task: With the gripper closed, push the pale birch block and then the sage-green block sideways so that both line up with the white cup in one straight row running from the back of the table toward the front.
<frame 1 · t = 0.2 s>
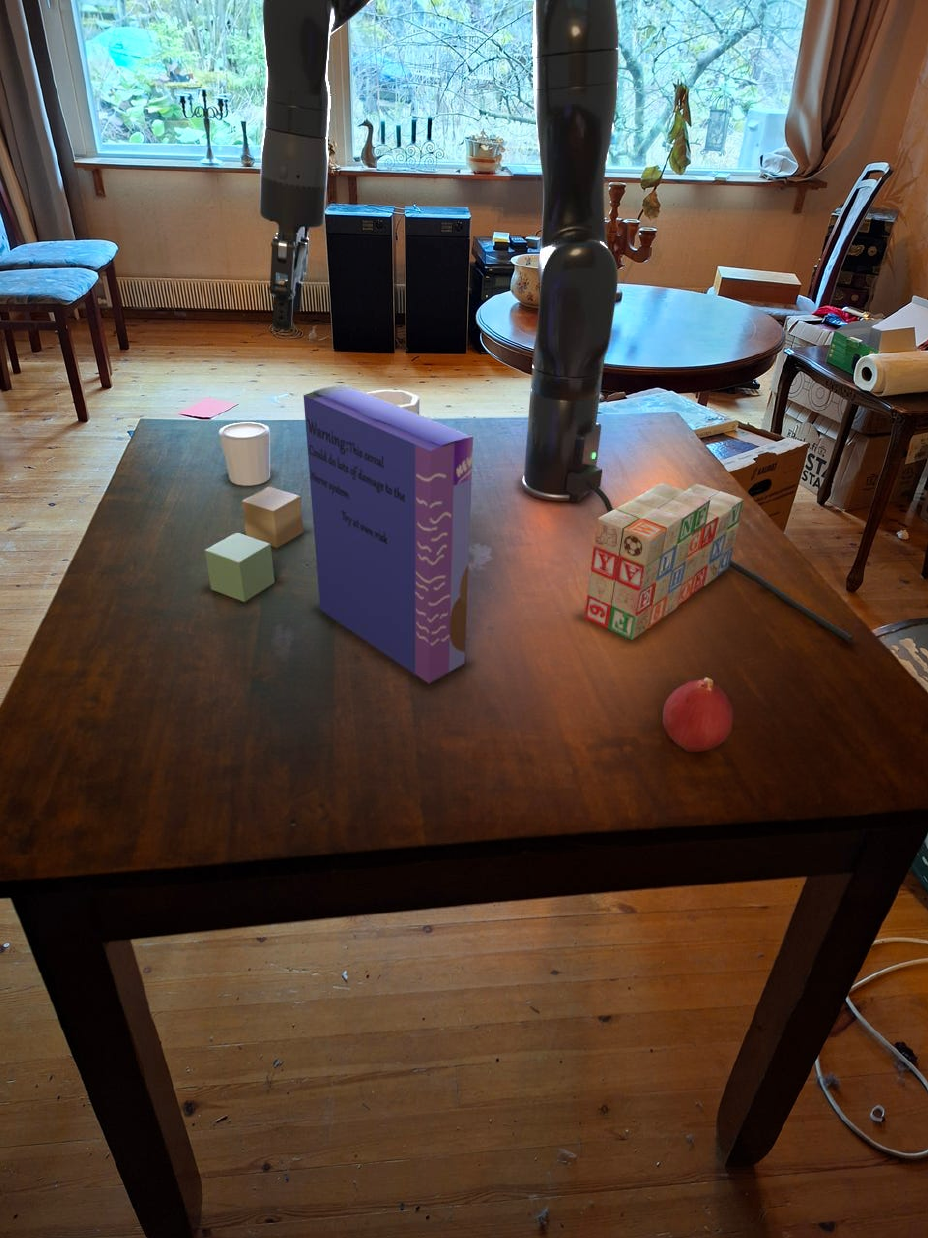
hand: (287, 319, 105), 22 cm above the table, tool pointing down, fingers open, 8 cm apart
mug: (393, 469, 122), on the table
onion: (689, 750, 73), on the table
birch block: (275, 534, 104), on the table
cereal box: (389, 638, 86), on the table
sage block: (243, 585, 94), on the table
stack of blocks: (659, 594, 95), on the table
white cup: (250, 478, 118), on the table
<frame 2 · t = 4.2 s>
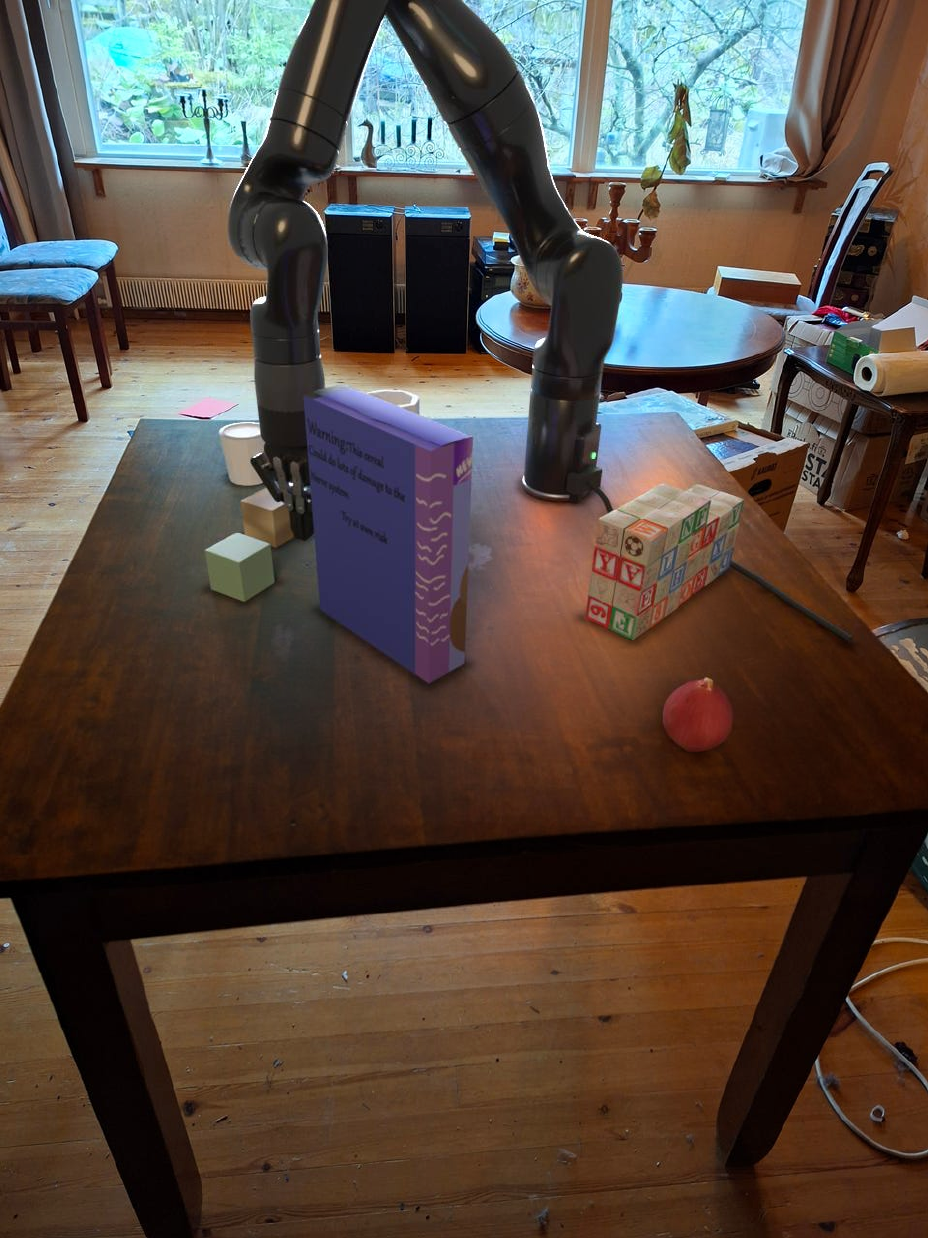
hand: (303, 536, 101), 1 cm above the table, tool pointing down, fingers closed
birch block: (273, 534, 104), on the table, touching gripper
everything else where it was.
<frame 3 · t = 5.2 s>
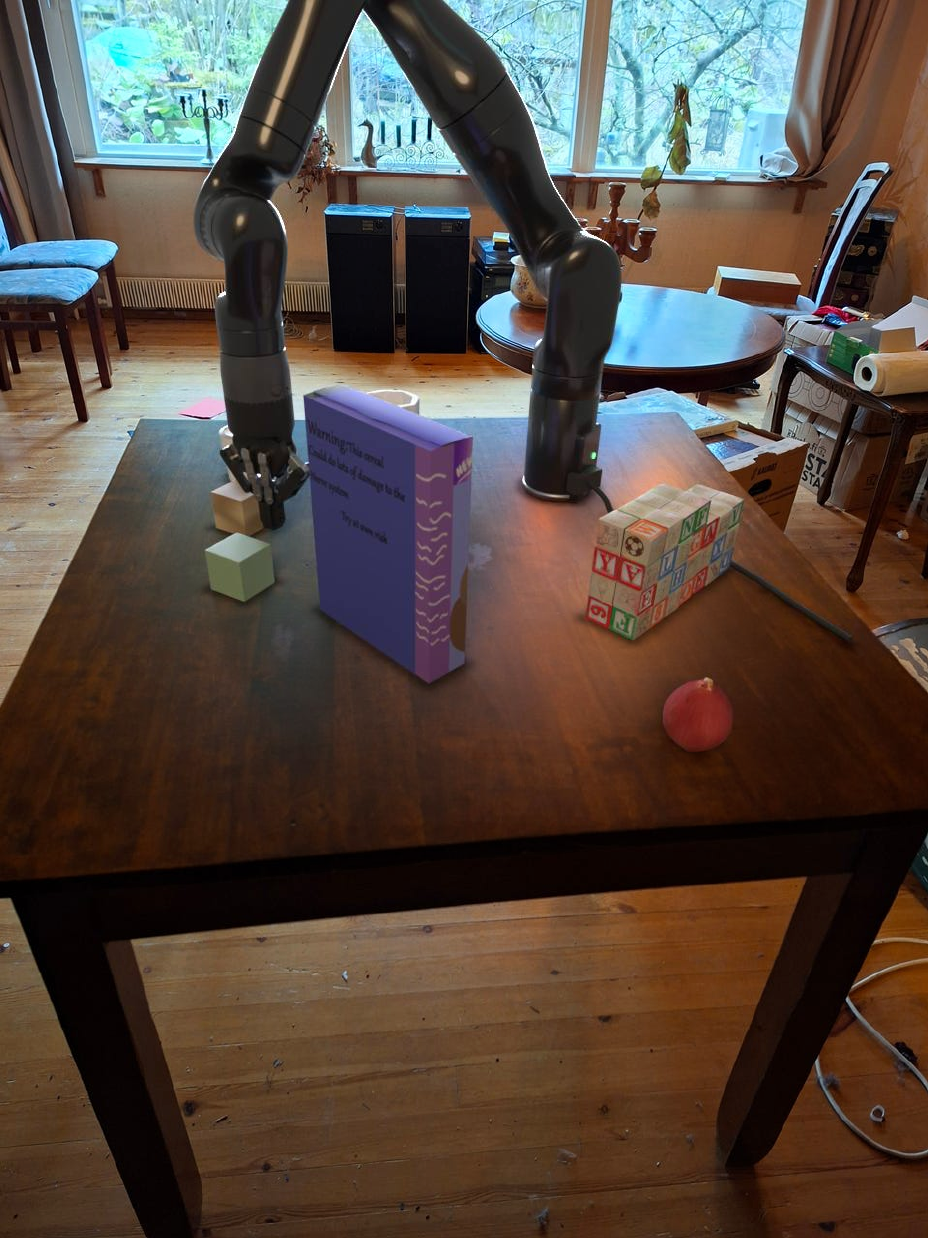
hand: (273, 526, 103), 1 cm above the table, tool pointing down, fingers closed
birch block: (244, 525, 106), on the table, touching gripper
everything else where it was.
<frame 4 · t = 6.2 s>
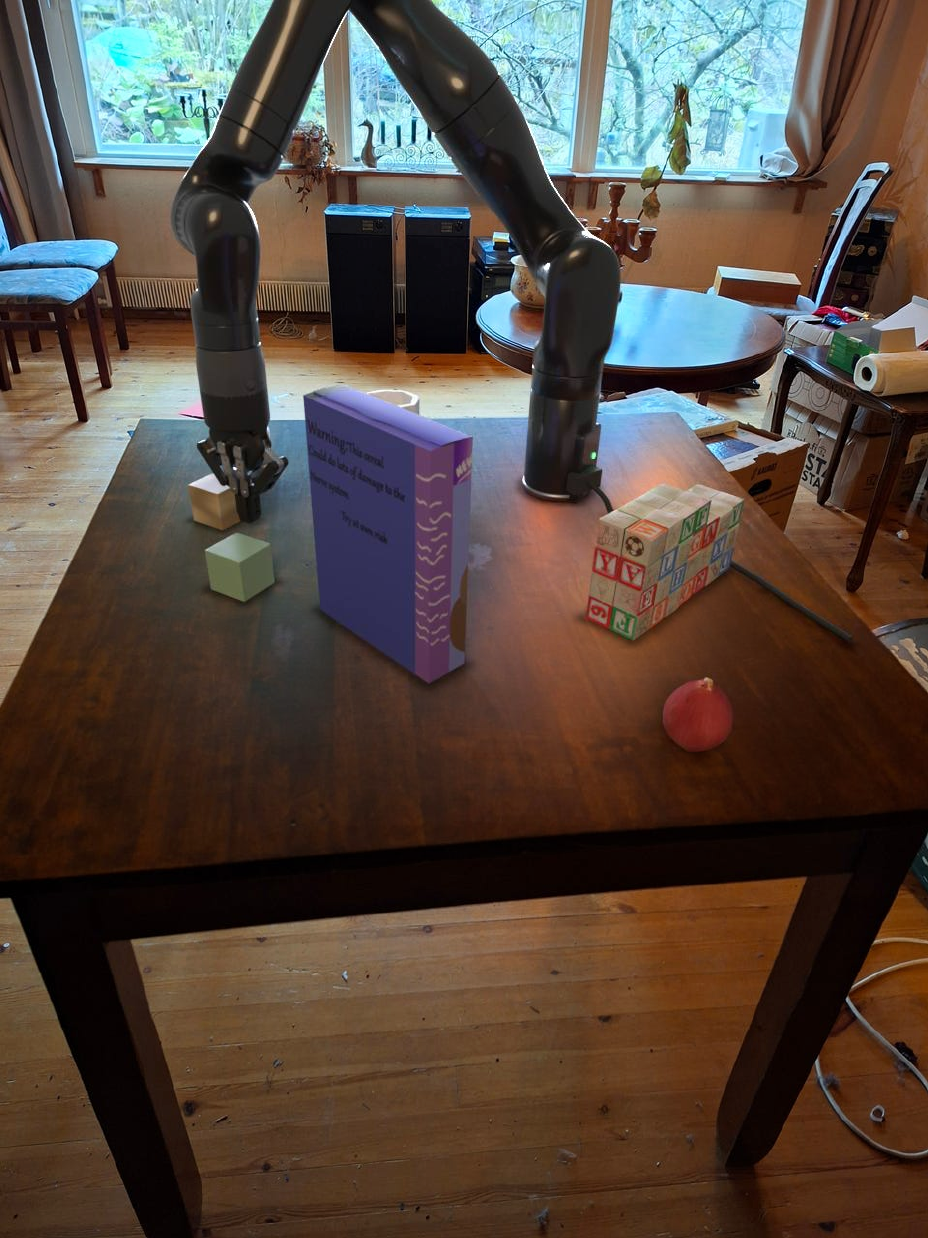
hand: (249, 519, 104), 1 cm above the table, tool pointing down, fingers closed
birch block: (222, 518, 107), on the table, touching gripper
everything else where it was.
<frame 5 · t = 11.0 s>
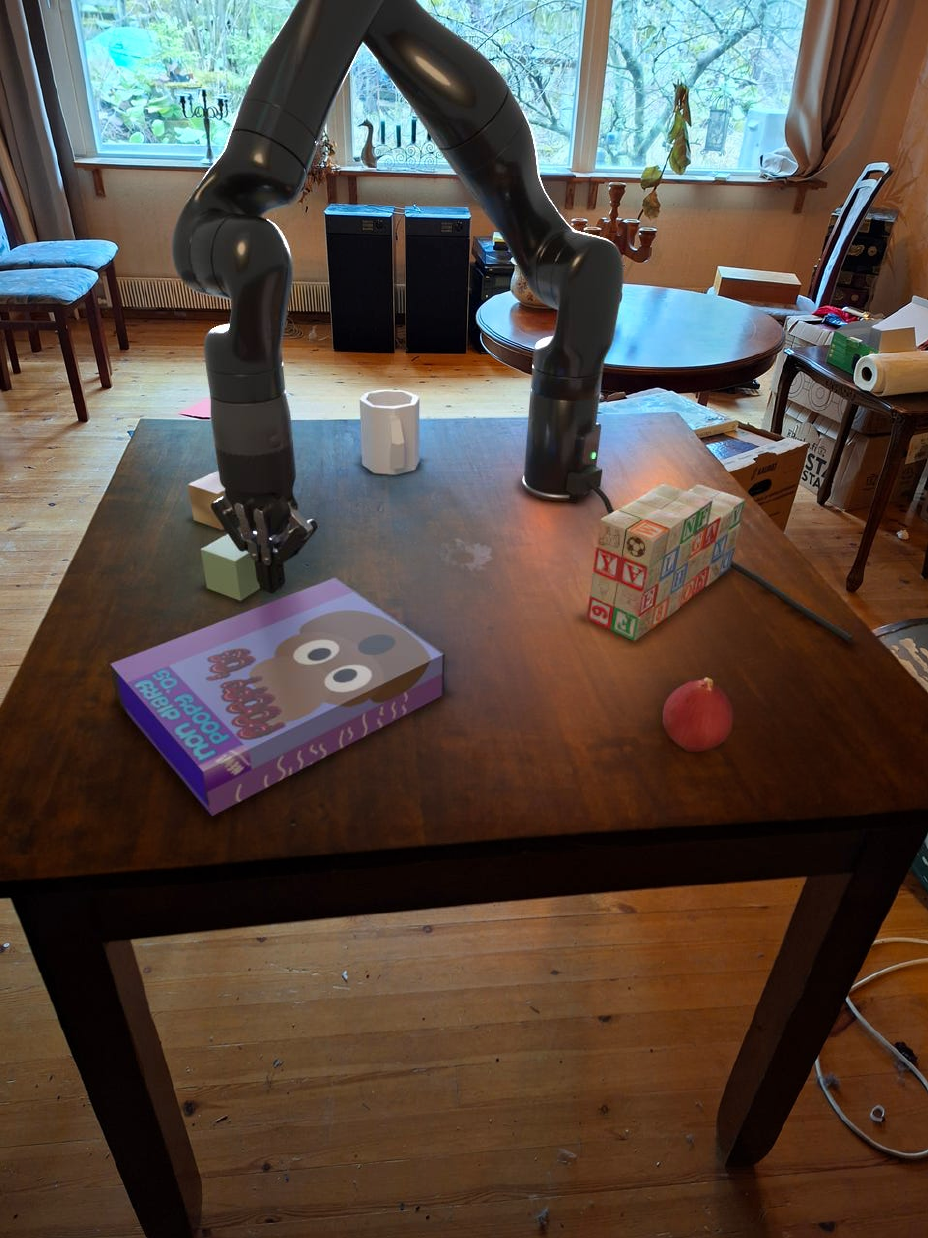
hand: (271, 588, 91), 1 cm above the table, tool pointing down, fingers closed
birch block: (222, 517, 107), on the table
cereal box: (388, 632, 83), point 2 cm above the table
sage block: (239, 584, 94), on the table, touching gripper
everything else where it was.
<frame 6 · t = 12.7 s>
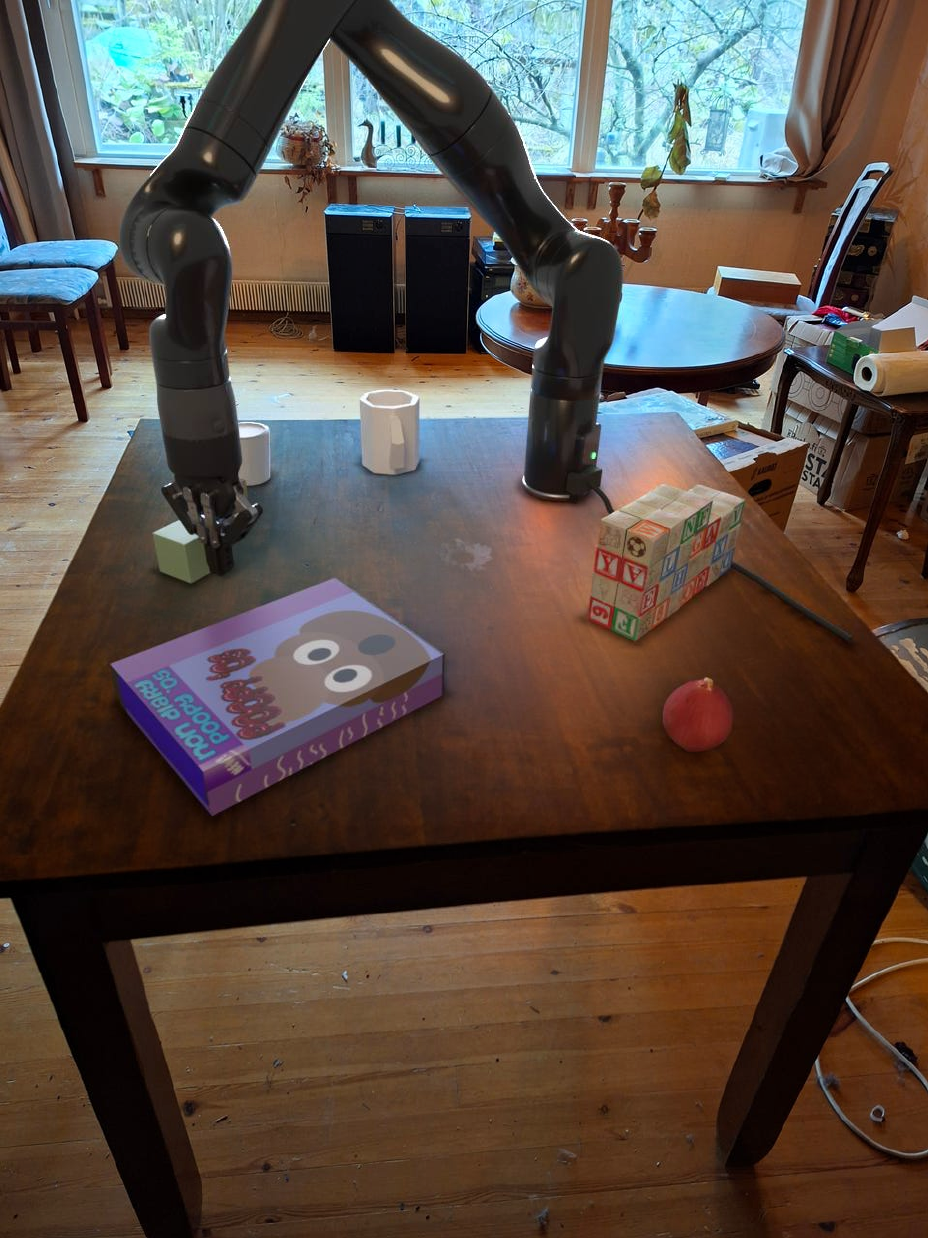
hand: (221, 571, 94), 1 cm above the table, tool pointing down, fingers closed
sage block: (191, 568, 96), on the table, touching gripper
everything else where it was.
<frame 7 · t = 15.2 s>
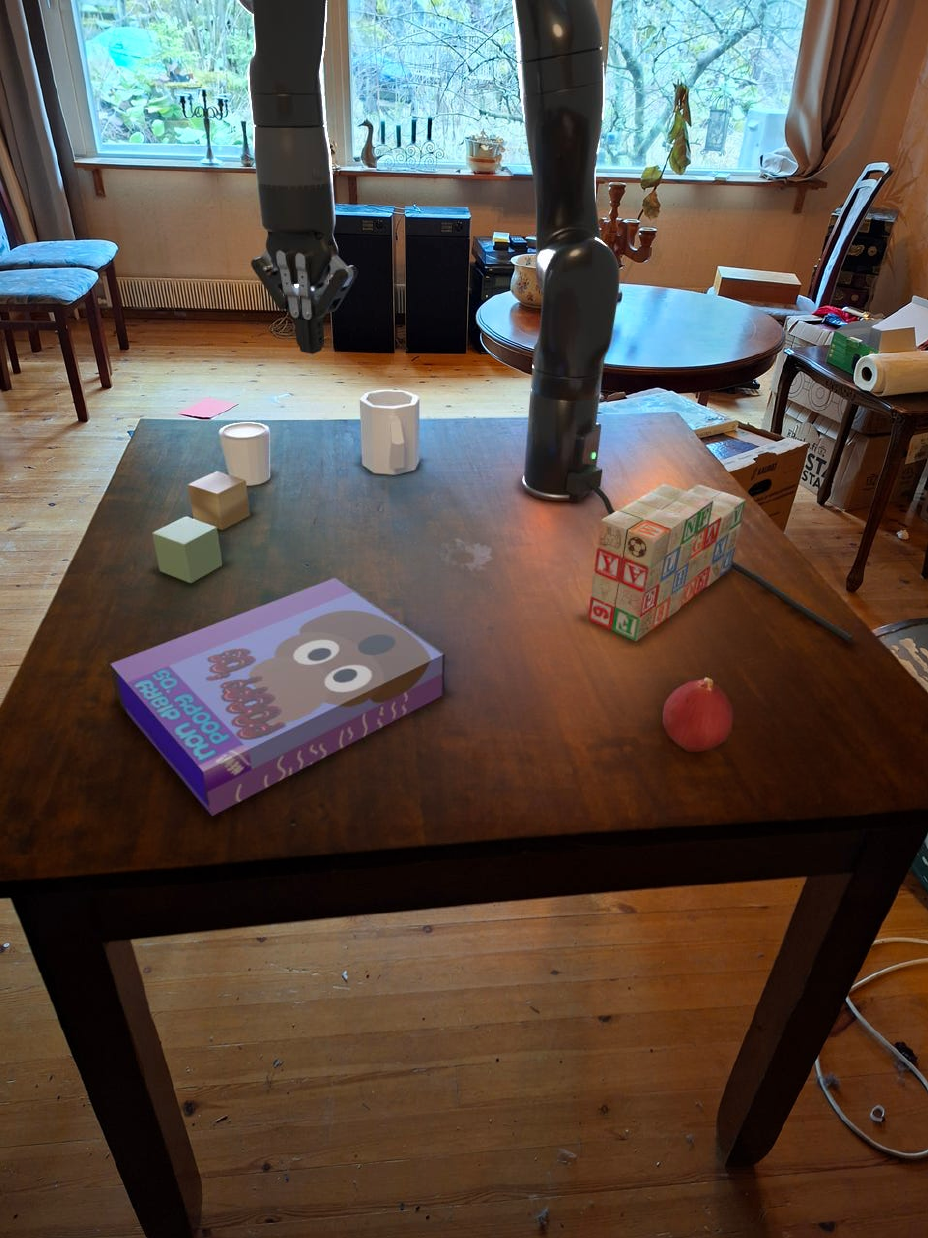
hand: (311, 351, 93), 22 cm above the table, tool pointing down, fingers closed
sage block: (191, 568, 96), on the table
everything else where it was.
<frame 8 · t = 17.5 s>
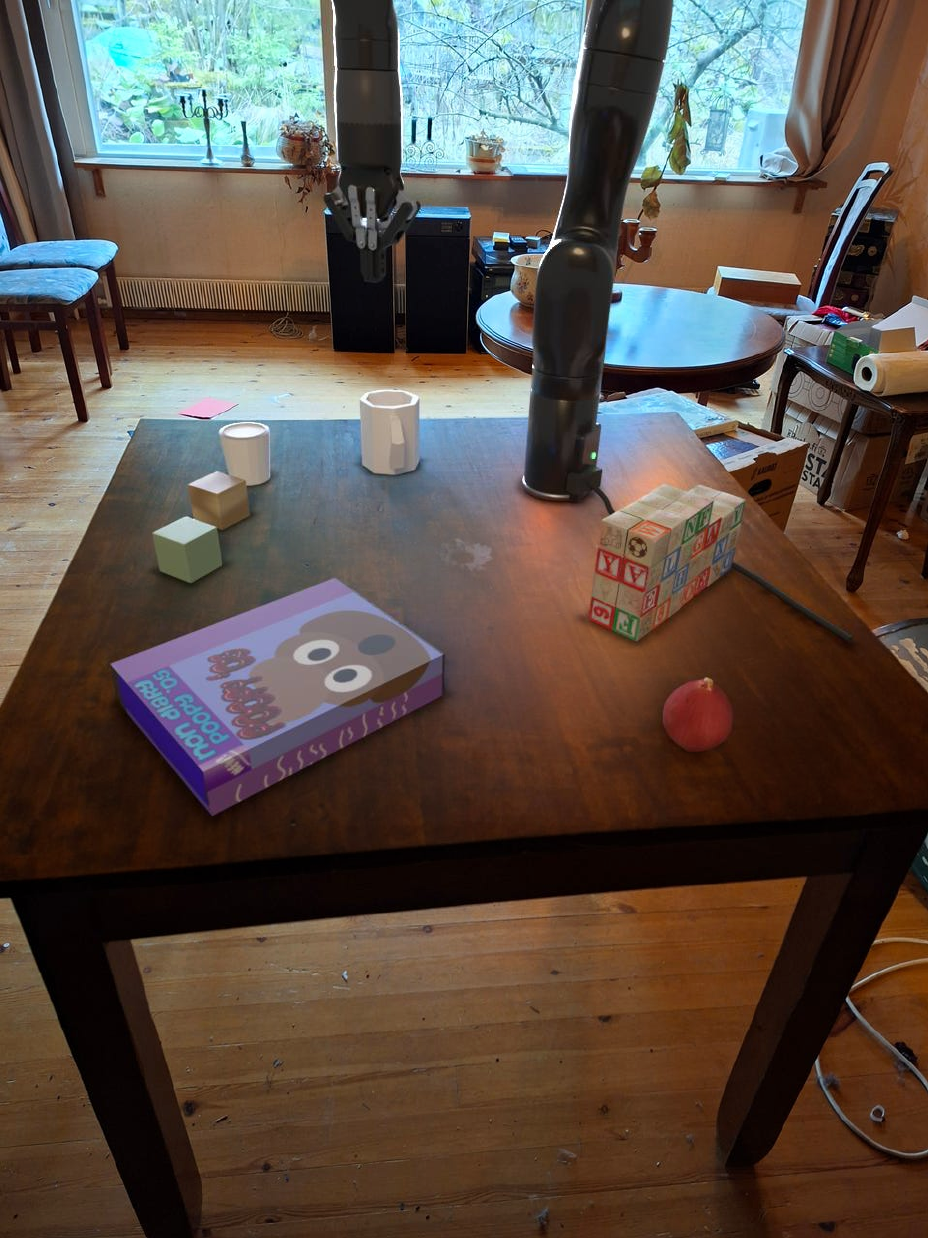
hand: (373, 280, 103), 27 cm above the table, tool pointing down, fingers closed
nothing on the table moved.
at the end: birch block 0.8 cm from the target spot on the table beside the white cup, on the table; sage block 0.5 cm from the target spot on the table beside the white cup, on the table; white cup tilted 0° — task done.
